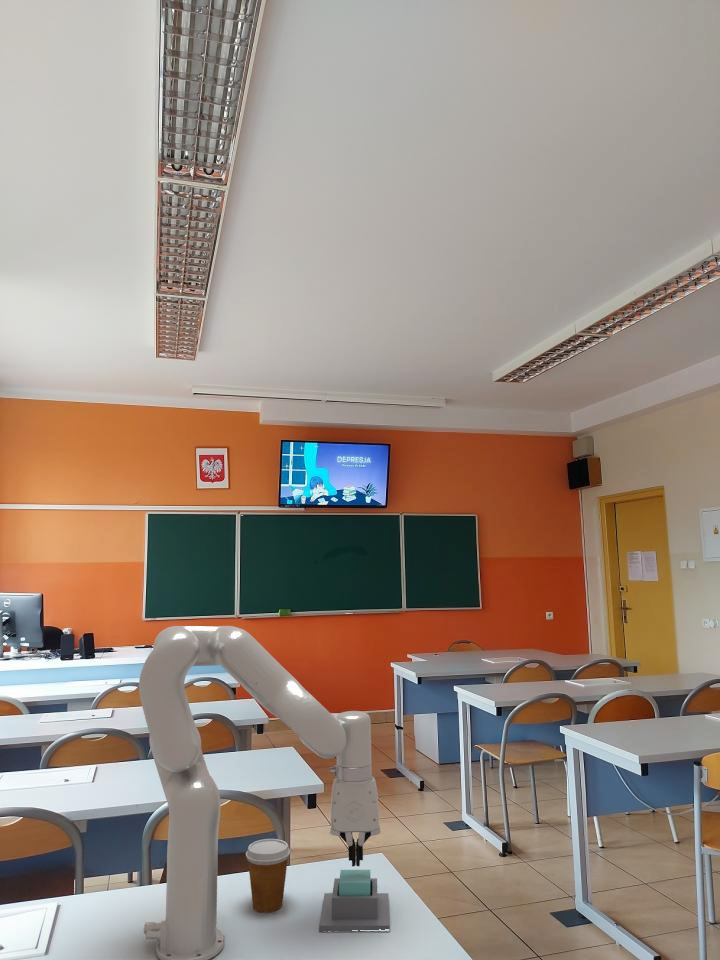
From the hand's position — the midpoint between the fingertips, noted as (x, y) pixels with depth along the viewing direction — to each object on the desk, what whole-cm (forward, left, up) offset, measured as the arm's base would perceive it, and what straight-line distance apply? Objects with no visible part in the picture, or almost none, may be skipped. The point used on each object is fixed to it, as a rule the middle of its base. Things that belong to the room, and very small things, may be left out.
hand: (356, 863), depth 143 cm
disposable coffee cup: (-19, +4, -10) cm, 22 cm away
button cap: (0, 0, -6) cm, 6 cm away
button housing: (0, 0, -10) cm, 10 cm away
